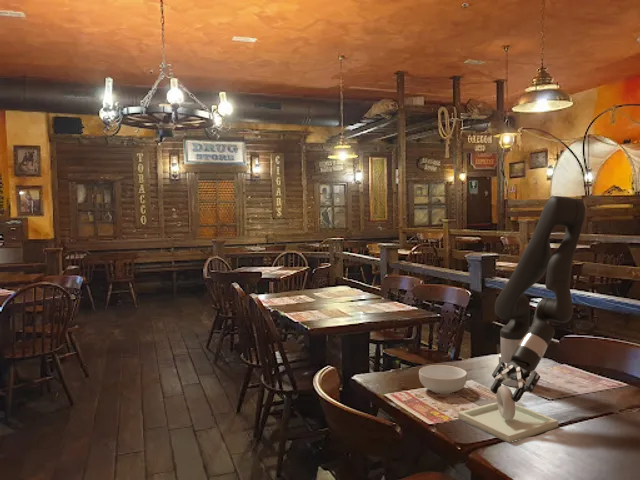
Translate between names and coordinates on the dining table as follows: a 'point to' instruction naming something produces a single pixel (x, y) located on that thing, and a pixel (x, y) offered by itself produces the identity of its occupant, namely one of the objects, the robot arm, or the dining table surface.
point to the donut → (505, 403)
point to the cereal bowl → (442, 378)
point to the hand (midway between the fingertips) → (503, 396)
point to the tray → (508, 422)
